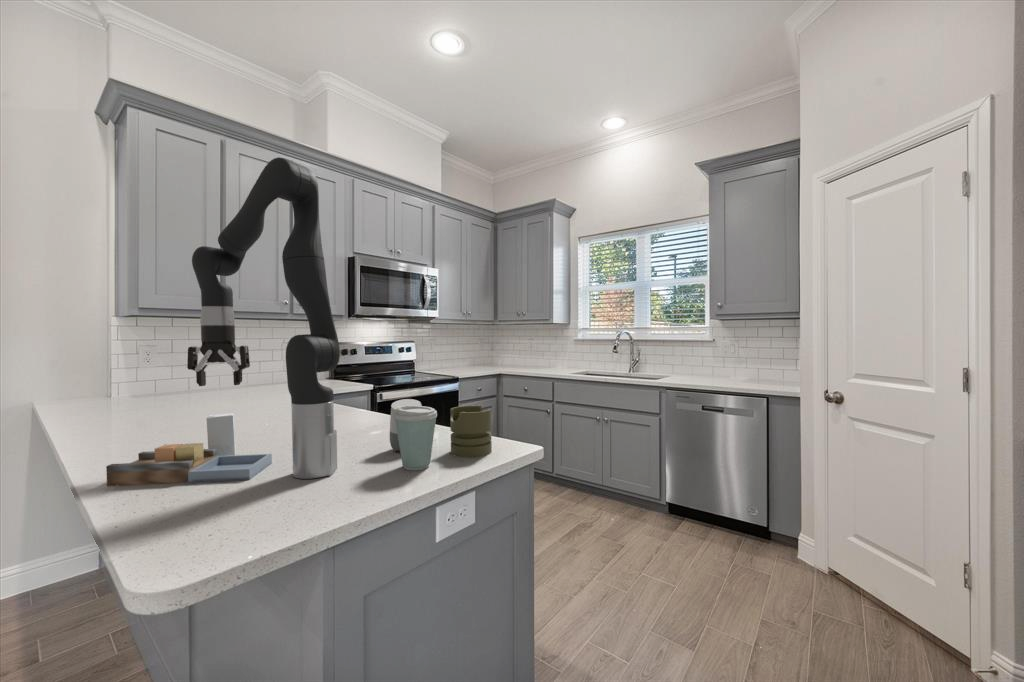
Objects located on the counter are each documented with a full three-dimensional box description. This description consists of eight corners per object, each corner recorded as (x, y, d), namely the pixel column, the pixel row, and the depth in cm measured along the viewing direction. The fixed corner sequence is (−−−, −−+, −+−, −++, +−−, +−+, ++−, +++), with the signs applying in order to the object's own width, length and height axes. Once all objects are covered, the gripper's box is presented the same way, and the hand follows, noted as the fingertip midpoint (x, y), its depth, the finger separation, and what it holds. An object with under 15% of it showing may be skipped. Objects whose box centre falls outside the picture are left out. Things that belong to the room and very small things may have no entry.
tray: (271, 463, 117) (271, 453, 117) (249, 479, 104) (249, 468, 104) (217, 465, 116) (217, 456, 116) (188, 482, 103) (188, 471, 103)
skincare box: (236, 456, 124) (235, 412, 124) (235, 460, 120) (234, 414, 120) (209, 459, 122) (208, 414, 121) (207, 463, 118) (206, 417, 117)
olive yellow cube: (203, 459, 111) (203, 442, 111) (194, 464, 107) (194, 447, 107) (185, 460, 111) (185, 443, 110) (176, 464, 107) (175, 447, 106)
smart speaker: (388, 455, 124) (388, 404, 123) (390, 447, 133) (390, 399, 132) (424, 453, 126) (423, 402, 125) (423, 445, 135) (423, 397, 134)
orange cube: (183, 460, 110) (183, 443, 110) (173, 464, 106) (173, 448, 106) (165, 460, 110) (165, 444, 110) (155, 465, 106) (154, 448, 106)
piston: (461, 414, 118) (443, 408, 128) (462, 460, 119) (444, 450, 128) (498, 409, 125) (479, 404, 134) (499, 453, 125) (479, 444, 134)
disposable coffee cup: (433, 459, 120) (433, 402, 119) (442, 470, 110) (441, 408, 109) (392, 463, 116) (391, 405, 116) (397, 476, 106) (396, 412, 106)
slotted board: (216, 466, 115) (216, 448, 115) (189, 482, 103) (189, 462, 103) (143, 469, 113) (142, 451, 113) (107, 486, 101) (106, 466, 101)
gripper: (252, 324, 125) (254, 383, 125) (196, 324, 123) (198, 384, 123) (240, 323, 117) (242, 386, 118) (180, 324, 115) (182, 388, 116)
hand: (219, 385), depth 120 cm, fingers open, 8 cm apart
